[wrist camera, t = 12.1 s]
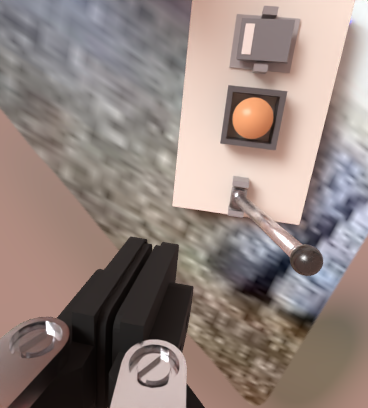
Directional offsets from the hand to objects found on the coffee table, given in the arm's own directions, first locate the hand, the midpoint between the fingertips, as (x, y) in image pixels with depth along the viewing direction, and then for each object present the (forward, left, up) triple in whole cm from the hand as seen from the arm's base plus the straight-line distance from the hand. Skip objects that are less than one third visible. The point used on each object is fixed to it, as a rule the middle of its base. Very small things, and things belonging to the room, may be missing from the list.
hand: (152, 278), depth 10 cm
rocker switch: (-4, -11, -21) cm, 25 cm away
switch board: (-4, -5, -26) cm, 27 cm away
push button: (-4, -5, -22) cm, 23 cm away
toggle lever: (-4, +3, -21) cm, 22 cm away
